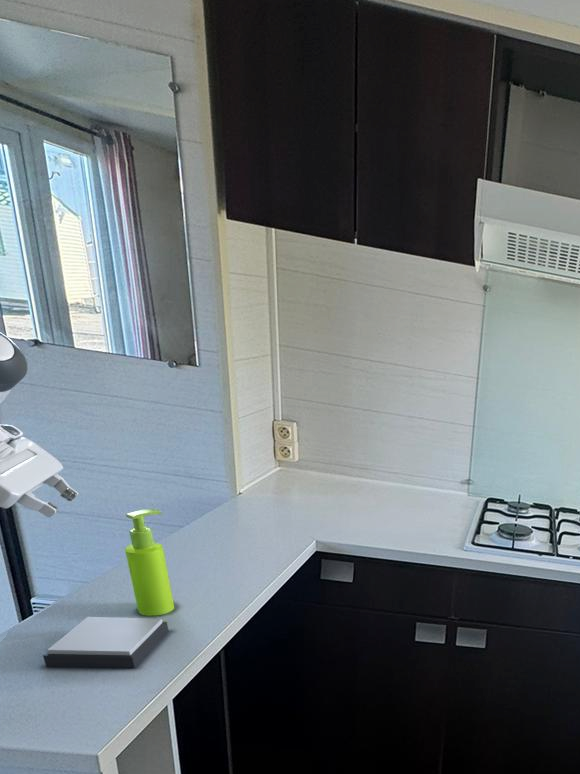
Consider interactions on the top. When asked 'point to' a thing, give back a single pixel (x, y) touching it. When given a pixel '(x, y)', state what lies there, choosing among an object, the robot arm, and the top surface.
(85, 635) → the kitchen scale
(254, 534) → the top surface
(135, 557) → the soap dispenser
